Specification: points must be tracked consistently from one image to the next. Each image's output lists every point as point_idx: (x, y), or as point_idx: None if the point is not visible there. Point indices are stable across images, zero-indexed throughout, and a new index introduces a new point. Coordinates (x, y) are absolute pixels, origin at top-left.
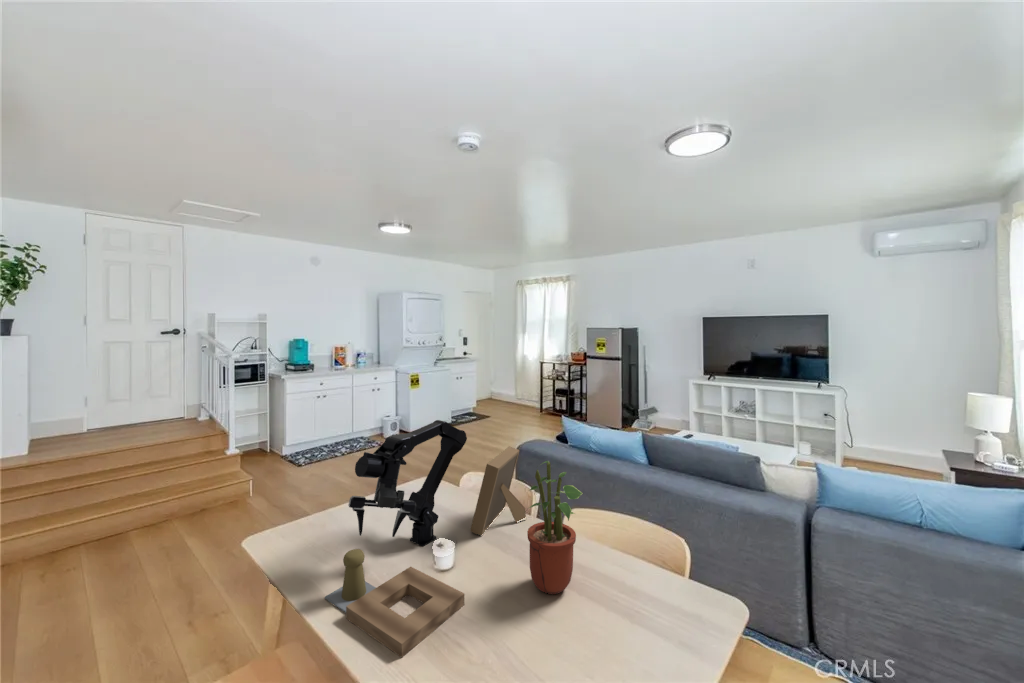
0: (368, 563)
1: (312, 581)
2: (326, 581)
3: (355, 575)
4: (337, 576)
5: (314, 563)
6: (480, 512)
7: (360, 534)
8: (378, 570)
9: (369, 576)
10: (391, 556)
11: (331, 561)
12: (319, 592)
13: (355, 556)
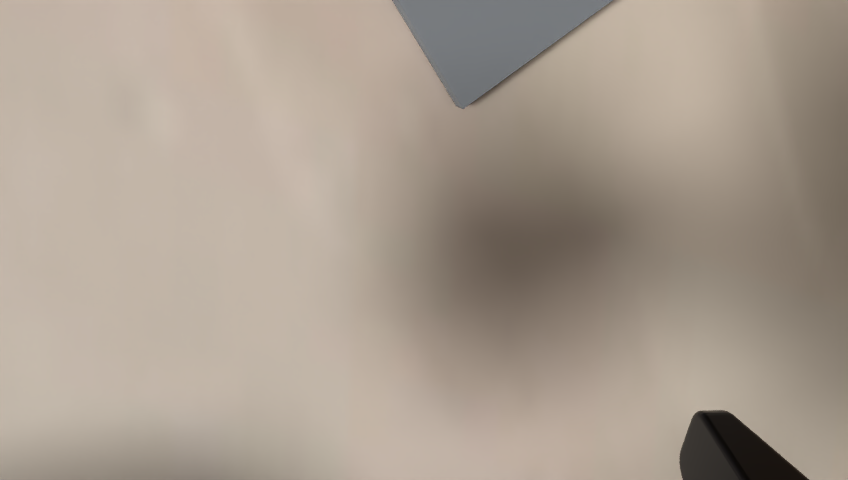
0: (346, 371)
1: (812, 207)
2: (720, 170)
3: None
4: (633, 221)
5: None
6: None
7: (723, 420)
8: (239, 208)
9: (342, 119)
10: (81, 456)
11: (657, 468)
12: (786, 12)
13: None
